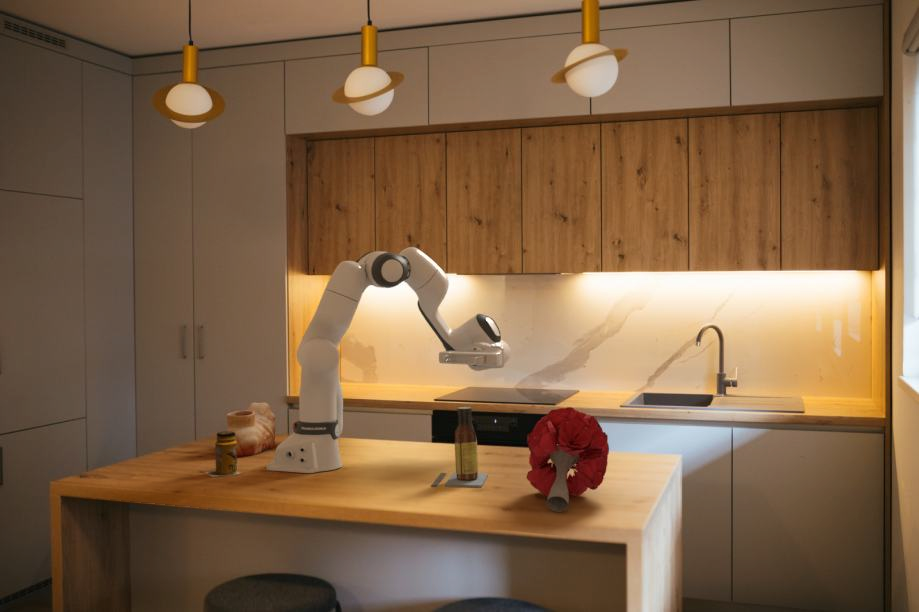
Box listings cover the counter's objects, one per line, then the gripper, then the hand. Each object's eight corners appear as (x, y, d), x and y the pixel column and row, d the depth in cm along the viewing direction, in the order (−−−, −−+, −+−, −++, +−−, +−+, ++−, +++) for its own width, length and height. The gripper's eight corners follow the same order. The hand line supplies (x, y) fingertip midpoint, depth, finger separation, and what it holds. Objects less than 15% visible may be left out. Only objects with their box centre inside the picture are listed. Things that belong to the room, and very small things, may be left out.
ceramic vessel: (286, 444, 302) (285, 400, 302) (252, 458, 277) (251, 411, 276) (249, 442, 305) (248, 399, 305) (212, 457, 280) (211, 410, 279)
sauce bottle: (482, 477, 245) (481, 406, 244) (471, 482, 240) (470, 409, 239) (462, 475, 248) (461, 405, 248) (450, 479, 243) (450, 408, 242)
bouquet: (609, 538, 211) (615, 455, 236) (598, 463, 200) (605, 385, 225) (522, 538, 217) (536, 457, 242) (506, 465, 206) (522, 389, 231)
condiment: (241, 474, 254) (241, 433, 254) (212, 477, 250) (212, 435, 250) (233, 469, 261) (232, 429, 260) (204, 473, 256) (204, 432, 256)
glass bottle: (307, 441, 306) (307, 361, 305) (330, 437, 313) (330, 359, 313) (325, 445, 299) (324, 363, 298) (348, 441, 307) (348, 361, 306)
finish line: (431, 486, 237) (431, 485, 237) (441, 473, 253) (441, 472, 253) (436, 486, 237) (436, 485, 237) (446, 473, 253) (446, 472, 253)
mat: (445, 486, 237) (445, 484, 237) (453, 474, 252) (453, 472, 252) (481, 487, 236) (481, 485, 236) (488, 475, 250) (488, 473, 250)
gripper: (450, 345, 280) (428, 348, 268) (508, 347, 270) (488, 350, 258) (451, 365, 280) (429, 369, 268) (508, 367, 271) (488, 371, 258)
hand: (458, 360), depth 263 cm, fingers open, 8 cm apart
